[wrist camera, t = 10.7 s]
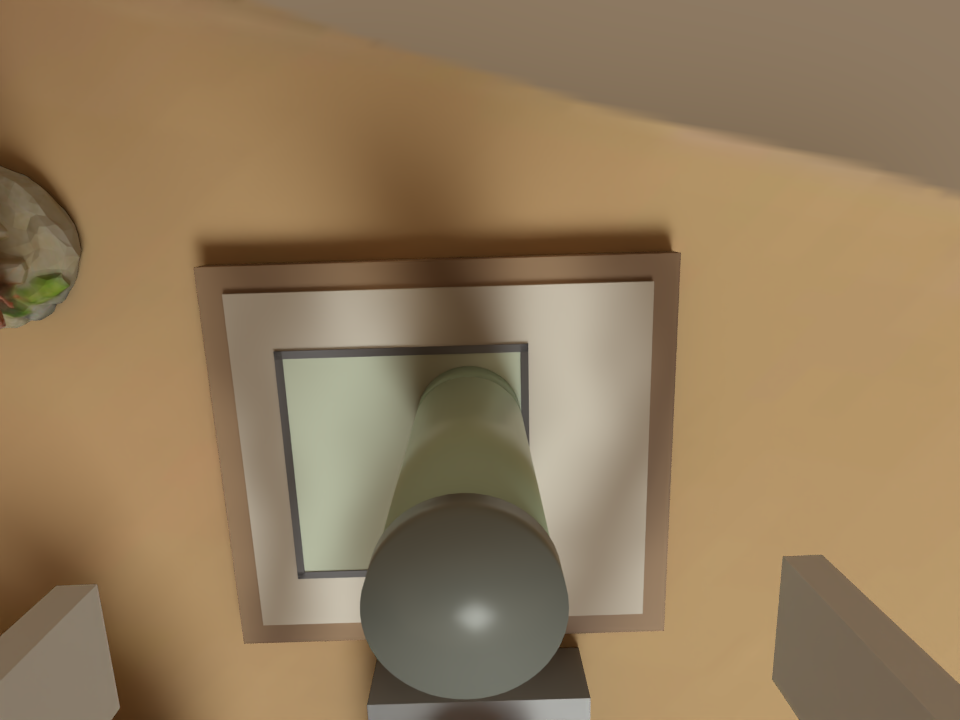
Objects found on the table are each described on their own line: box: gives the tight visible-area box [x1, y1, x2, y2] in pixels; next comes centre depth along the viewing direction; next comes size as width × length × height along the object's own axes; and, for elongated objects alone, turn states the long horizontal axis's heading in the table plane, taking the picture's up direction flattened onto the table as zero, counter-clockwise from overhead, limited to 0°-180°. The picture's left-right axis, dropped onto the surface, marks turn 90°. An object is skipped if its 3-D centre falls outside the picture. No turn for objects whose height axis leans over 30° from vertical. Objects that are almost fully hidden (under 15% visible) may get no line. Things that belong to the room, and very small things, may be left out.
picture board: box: [194, 251, 681, 644], centre depth 25 cm, size 18×16×1 cm
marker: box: [360, 366, 569, 699], centre depth 18 cm, size 4×4×12 cm
